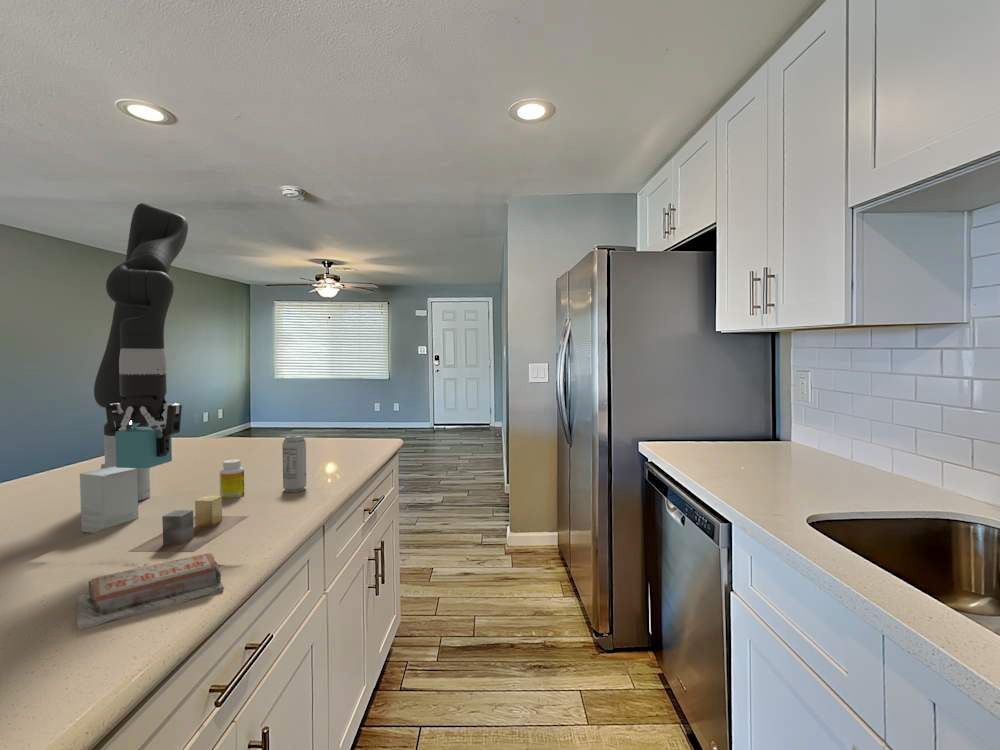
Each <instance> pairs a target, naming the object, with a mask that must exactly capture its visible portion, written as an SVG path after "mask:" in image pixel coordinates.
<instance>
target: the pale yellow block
mask: <svg viewBox="0 0 1000 750" xmlns="http://www.w3.org/2000/svg"><path fill="white" fill-rule="evenodd" d="M194 514H195V515H194V516H195V526H206V527H213V526H214V525H216V524H218V523H219V522H221V521H222V516H223V497H222V496H220V495H204V496H201V497H200V498H198V499H195V500H194Z"/></svg>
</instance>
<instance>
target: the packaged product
mask: <svg viewBox="0 0 1000 750" xmlns="http://www.w3.org/2000/svg"><path fill="white" fill-rule="evenodd" d="M221 578H222V573H221V570H220V565H219V564H218V562H216V560H215V556H214V554H213V553H210V552H209V553H204V554H198V555H194V556H190V557H183V558H180V559H175V560H170V561H166V562H161V563H155V564H152V565H147V566H143V567H138V568H133V569H129V570H124V571H121V572H115V573H112V574H111V573H110V574H106V575H102V576H101V575H100V576H98V577H95V578H92V579H90V580H89V581H88V592H87V593H86V592H85V593H81V594H79V595H78V596H77V599H78V600H77V612H76V613H77V614H76V624H77V628H78V630H79V631H81V630H83V629H87V628H92V627H96V626H99V625H102V624H105V623H108V622H111V621H115V620H120V619H124V618H128V617H132V616H135V615H136V616H137V615H140V614H143V612H144V613H147V611H148V612H151V611H150V610H152V611H154V609H155V610H159V609H163V607H164V608H166V607H171V606H174V605H177V603H178V604H181V603H185V602H187V600H188V601H192V600H195V599H194V598H196V599H199V598H202V597H205V595H206V596H210V595H215V594H218V593H221V591H222V592H224V589H225V588H224V585H223V583H222V582H221ZM217 592H218V593H217ZM214 593H215V594H214ZM201 596H202V597H201ZM198 597H199V598H198ZM191 599H192V600H191ZM184 601H185V602H184ZM158 608H159V609H158ZM139 613H140V614H139Z"/></svg>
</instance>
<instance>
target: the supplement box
mask: <svg viewBox="0 0 1000 750" xmlns="http://www.w3.org/2000/svg"><path fill="white" fill-rule="evenodd" d="M79 489H80V490H79V491H80V496H79V497H80V519H81V523H80V524H81V532H84V533H89V534H90V533H91V534H94V533H96V532H99V531H101V530H103V529H104V530H105V529H108V528H112V527H115V526H119V525H121V524H125V523H128V522H131V521H134V520H137V519H139V501H138V488H137V469H136V468H116V466H114V467H109V468H104V469H101V468H99V469H95V470H90V471H85V472H82V473H81V472H80V473H79Z"/></svg>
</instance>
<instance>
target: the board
mask: <svg viewBox="0 0 1000 750" xmlns="http://www.w3.org/2000/svg"><path fill="white" fill-rule="evenodd" d="M247 518H249V515H222V521H221V522H219V523H218V524H216V525H214V526H213V527H206V526H195V515H194V509H193V510H191V509H189V510H185V509H184V510H182V509H181V510H178V509H175V510H172V511H170V512H168V513H166V514H164V515H162V519H161V520H162V522H161V523H162V533H160V534H158V535H156V536H155V537H152V538H151V539H149V540H147V541H144V543H141V544H140V545H138V546H135V547H134V548H131V549H130V550H129V552H134V553H135V552H142V553H144V552H148V553H149V552H150V553H156V552H157V553H159V552H160V553H162V552H163V553H167V552H168V553H194V552H195V551H197V550H199V549H201V548H202V547H204V546H205V545H207V544H208V543H210V542H212V541H213V540H214V539H216V538H217V537H219V536H221V535H222V534H224V533H225V532H227V531H229V530H230V529H232V528H233V527H235V526H236V525H239V523H241V522H242V521H245V519H247Z"/></svg>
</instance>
